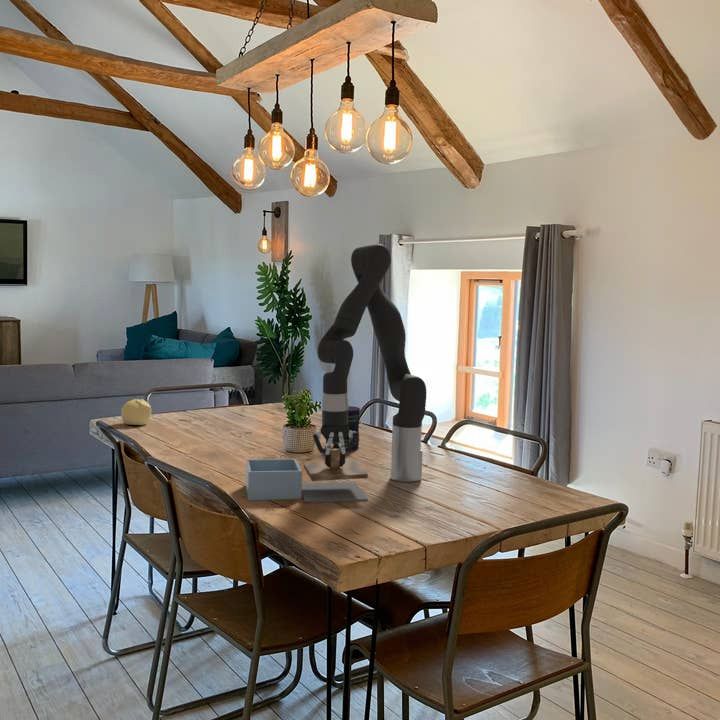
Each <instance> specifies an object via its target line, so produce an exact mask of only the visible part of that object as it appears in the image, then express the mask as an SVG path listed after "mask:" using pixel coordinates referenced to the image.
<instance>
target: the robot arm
mask: <svg viewBox="0 0 720 720" xmlns="http://www.w3.org/2000/svg"><path fill="white" fill-rule="evenodd" d="M350 262H351V268H352V271H353V273H354V275H355V276H354V277H355V278H356V281H357V284H356V285H355V287H354V288H353V289H352V291H351V292H350V293H349V294H348V295H347V296H346V298H345V299H344V300H343V302H342V303H341V305H340V307H339V309H338V312H337V314H336V316H335V318H334V319H335V320H334V322H333V323H332V325H331V326H330V327H329V328H328V330H327V331H326V332H325V334H324V335H323V336H322V337H321V339H320V341H319V343H318V346H317V354H316V355H317V357H318V359H319V361H320V362H322V363H325V364H333V365H334V368H333V370H332V371H327V372H325V373H324V374H323V376H322V398H321V427H320V429H319V431H317V432H312V433H311V436H312V439H313V441H314V443H315V445H316V448H317V451H318V452H319V453H320V454H324V462H325V465H327V467H330V454H329V453H330V449H332V446H333V443H335V442H336V443H338V444H339V448H340V467H343V465H344V464H345V461H346V454H347V453H350V452H352V451H351V450H352V448H353V446H354V443H355V441H356V438H357V436H358V433H357V432H356V431H351V430H349V427H348V406H349V399H348V377H349V373H350V370H351V366H352V362H353V358H354V349H353V346H352V344H351V342H349V341H348V340H345V339H348V338H352V337H353V336H355V335H356V333H357V330H358V328H359V326H360V324H361V321H362V318H363V315H364V313H365V312H366V309H367V310H368V314H369V316H370V317H369V318H370V322H371V326H372V328H373V332H374V335H375V338H376V341H377V343H378V347H379V351H380V353H381V357H382V359H383V363H384V367H385V371H386V378H387V381H388V382H387V383H388V387H389V391H390V395H391V396H392V397H393V399H394V400H396V401H397V402H398V404H399V405H398V412H397V413H396V414H395V415H393V417H392V431H391V433H392V434H391V455H390V456H391V458H390V462H391V463H390V478H391V480H393V481H396V482H401V483H402V482H403V483H412V482H413V483H414V482H417V481H422V480H423V479H422V478H423V454H424V453H423V450H422V433H423V430H422V428H423V427H422V426H423V420H424V418H425V415H426V406H427V405H426V403H427V386H426V383H425V381H424V380H423V379H422V378H421V377H420V376H417V375H413V374H412V373H411V371H410V369H409V365H408V362H407V359H406V353H405V351H406V340H407V339H406V338H407V337H406V335H407V334H406V330H405V325H404V322H403V318H402V315H401V313H400V311H399V309H398V307H397V305H396V304H395V303H393V301H392V300H391V299H390V298H389V296H388V295H387V294H386V293H385V292H384V290H383V289H382V287H381V284H380V283H381V282H382V281H383V279H384V277H385V276H386V273H387V272H388V270H389V269H390V267H391V262H392V256H391V253H390V250H389V249H388V247H387V246H386V245H383V244H381V243H376V244H370V245H369V244H368V245H364V246H359V247H356V248H355V249H353V251H352V253H351V256H350ZM348 433H349V437H350V439H349V441H348V444H347V446H346V447H345V445H344V439H345V437H346V436H347V435H348ZM321 436H322V437H323V438H324V439H325V441H324V448H323V446H322V444H321V442H320V441H321Z"/></svg>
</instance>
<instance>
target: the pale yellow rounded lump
mask: <svg viewBox="0 0 720 720" xmlns="http://www.w3.org/2000/svg"><path fill="white" fill-rule="evenodd" d="M152 411H153V410H152V406H151V405H150V404H149V402H147V401H146V400H145V399H143V398H139V399H138V398H133V399H132V400H129V401H126V403H124V404H123V406H122V408H121V413H120V414H121V416H120V417H121V420H122V422H123V423H124V424H125V425H132V426H145V425H146V424H147V423H148V422H150V420H151V416H152Z"/></svg>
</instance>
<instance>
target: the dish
mask: <svg viewBox="0 0 720 720" xmlns="http://www.w3.org/2000/svg"><path fill="white" fill-rule="evenodd" d="M244 480H245V481H244V482H245V484H244V485H245V490H246V495H247V500H248V501H266V500H301V499H302V483H303V470H302V468H301V466H300V464H299V462H298V460H297V459H296V458H279V459H278V458H274V459H261V458H260V459H258V458H257V459H254V458H253V459H251V458H250V459H245V479H244Z"/></svg>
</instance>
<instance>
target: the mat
mask: <svg viewBox="0 0 720 720" xmlns="http://www.w3.org/2000/svg"><path fill="white" fill-rule="evenodd" d="M301 498H302V499H303V501H304V503H328V502H334V503H335V502H365V501H367V502H368V500H369V499H368V497H367V496H366V495H365V493H364V491H363V490H362V488H360V486H359V485H358V483H357V482H355V481H354V482H353V481H352V482H351V481H350V482H310V483H309V482H308V483H307V482H304V483H303V482H302V495H301Z"/></svg>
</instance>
